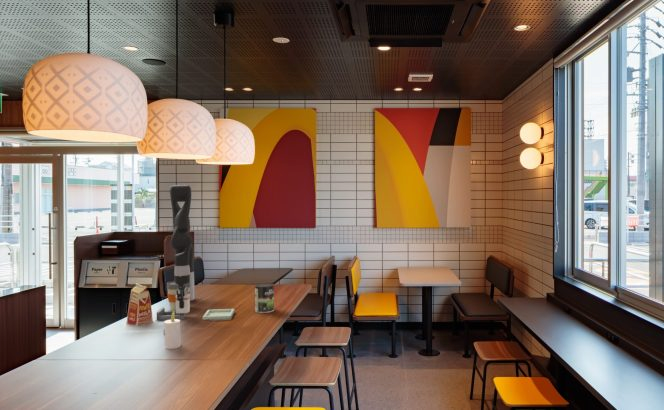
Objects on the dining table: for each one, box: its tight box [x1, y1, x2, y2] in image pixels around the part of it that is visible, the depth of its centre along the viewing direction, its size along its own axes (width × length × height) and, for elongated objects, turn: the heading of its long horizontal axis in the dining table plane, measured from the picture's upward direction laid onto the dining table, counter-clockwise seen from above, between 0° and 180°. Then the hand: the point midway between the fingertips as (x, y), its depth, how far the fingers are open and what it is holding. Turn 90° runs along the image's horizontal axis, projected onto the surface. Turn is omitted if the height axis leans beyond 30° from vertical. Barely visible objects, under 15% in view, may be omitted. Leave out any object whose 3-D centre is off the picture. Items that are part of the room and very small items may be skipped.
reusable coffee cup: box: [166, 280, 190, 311], centre depth 239 cm, size 13×13×15 cm
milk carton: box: [125, 282, 153, 327], centre depth 212 cm, size 9×9×20 cm
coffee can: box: [254, 282, 275, 314], centre depth 232 cm, size 10×10×14 cm
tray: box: [202, 308, 235, 322], centre depth 222 cm, size 14×14×2 cm
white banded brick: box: [175, 294, 191, 314], centre depth 220 cm, size 4×6×9 cm
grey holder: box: [155, 307, 188, 322], centre depth 220 cm, size 11×13×5 cm
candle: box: [163, 310, 182, 350], centre depth 178 cm, size 6×6×15 cm
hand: (182, 306), depth 220 cm, fingers closed on white banded brick, 4 cm apart
